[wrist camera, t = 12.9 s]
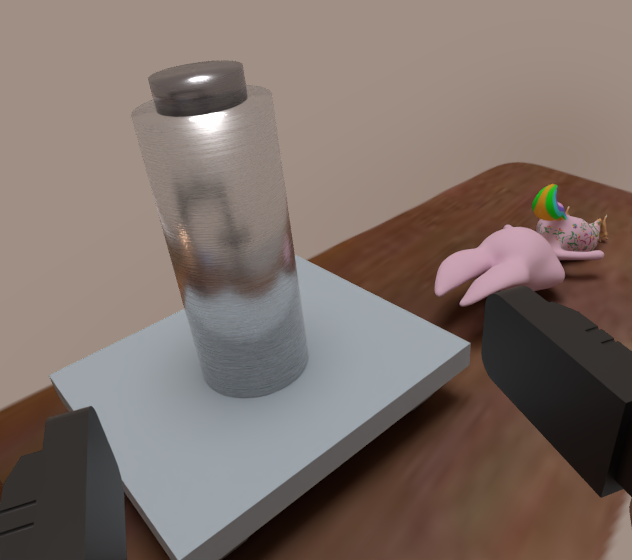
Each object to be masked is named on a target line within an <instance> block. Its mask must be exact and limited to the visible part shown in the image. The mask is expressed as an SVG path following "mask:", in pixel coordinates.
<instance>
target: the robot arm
mask: <svg viewBox="0 0 632 560" xmlns="http://www.w3.org/2000/svg"><path fill="white" fill-rule="evenodd" d="M482 360H483V364H484V367H485V369H486V371H487V373H488V375H489V377H490V378H491V379H492V381H493V382H494V383H495V384H496V385H497V386H498V387H499V388H500V389H501V390H502V392H503V393H504V394H505V395H506V396H507V397H508V398H509V399H510V400H511V401H512V402H513V403H514V404H515V406H516V407H517V408H518V409H519V410H520V411H521V412H522V413H523V414H524V415H525V416H526V417H527V419H528V420H529V421H530V422H531V423H532V424H533V425H534V426H535V427H536V428H537V429H538V430H539V432H540V433H541V434H542V435H543V436H544V437H545V438H546V439H547V440H548V441H549V442H550V443H551V444H552V446H553V447H554V448H555V449H556V450H557V451H558V452H559V453H560V454H561V455H562V456H563V457H564V459H565V460H566V461H567V462H568V463H569V464H570V465H571V466H572V467H573V468H574V469H575V470H576V471H577V473H578V474H579V475H580V476H581V477H582V478H583V479H584V480H585V481H586V482H587V483H588V484H589V486H590V487H591V488H592V489H593V490H594V491H595V492H596V493H597V494H598V495H599V496H600V497H601V498H602V497H604V496H607V495H609V494H612V493H614V492H617V491H619V490H622V489H624V490H625V491H626V492H627V493H628V494H629V495H630V496H631V497H632V351H630V350H629V349H628V348H626V347H625V346H624V345H622V344H621V343H620V342H618V341H617V342H615V341H614V338H613V337H612V336H610V335H609V334H608V333H606V332H605V331H604V330H602V329H600V330H599V329H598V326H597V325H595V324H594V323H593V322H591V321H590V320H589V319H587V318H586V317H585V316H583V315H582V314H581V313H579V312H578V311H575V310H573V309H570V308H568V307H565V306H563V305H560V304H558V303H555V302H553V301H552V302H547V301H546V300H545V299H543V298H542V297H541V296H540V295H538V294H537V293H536V292H534V291H533V290H532V289H530V288H529V287H527V286H523V285H522V286H518V287H514V288H511V289H507V290H503V291H500V292H496V293H493V294H490V295H489V296H488V297H487V299H486V302H485V312H484V325H483V338H482ZM629 508H630V518H631V525H632V499H631V502H630V506H629ZM0 560H127V550H126V527H125V504H124V490H123V484H122V479H121V475H120V471H119V467H118V464H117V462H116V459H115V457H114V454H113V452H112V449H111V447H110V444H109V442H108V440H107V437H106V435H105V432H104V430H103V427H102V425H101V423H100V420H99V418H98V415H97V413H96V411H95V409H94V408H93V407H92V406H88V407H85V408H81V409H78V410H74V411H71V412H67V413H64V414H60V415H57V416H53V417H49V418H48V419H47V421H46V425H45V432H44V441H43V449H42V450H41V451H38V452H34V453H31V454H27V455H24V456H21V457H20V459H19V461H18V462H17V464H16V465H15V467H14V468H13V470H12V472H11V473H10V475H9V476H8V478H7V480H6V481H5V483H4V485H3V491H2V496H1V502H0Z"/></svg>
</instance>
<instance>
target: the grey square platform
mask: <svg viewBox="0 0 632 560" xmlns="http://www.w3.org/2000/svg"><path fill="white" fill-rule="evenodd" d="M295 261H296V268H297V275H298V282H299V289H300V296H301V303H302V311H303V318H304V325H305V332H306V339H307V346H308V353H309V358H308V363H307V366H306V368H305V370H304V371H303V373H302V374H301V375H300V376H299V378H298V379H297V380H295V381H294V382H293V383H292V384H290V385H289V386H287V387H286V388H284V389H282V390H280V391H278V392H275V393H273V394H270V395H267V396H262V397H257V398H245V399H243V398H233V397H228V396H224V395H222V394H219V393H217V392H216V391H214V390H213V389H211V388H210V387H209V386H208V385H207V383H206V382H205V380H204V377H203V374H202V370H201V366H200V363H199V359H198V355H197V352H196V348H195V345H194V341H193V337H192V334H191V330H190V327H189V323H188V319H187V316H186V312H185V309H183V310H181V311H179V312H177V313H175V314H173V315H171V316H169V317H167V318H165V319H163V320H161V321H159V322H157V323H155V324H153V325H151V326H149V327H146V328H144V329H143V330H140V331H138V332H136V333H134V334H132V335H130V336H128V337H126V338H124V339H122V340H120V341H118V342H116V343H114V344H112V345H110V346H108V347H106V348H104V349H102V350H100V351H98V352H95V353H94V354H91V355H89V356H87V357H85V358H83V359H81V360H79V361H78V362H75V363H73V364H71V365H69V366H67V367H65V368H63V369H61V370H59V371H57V372H55V373H53V374H51V375H49V377H50V379H51V381H52V383H53V386H54V388H55V390H56V392H57V394H58V396H59V398H60V399H61V401H62V402H63V403H64V405H65V406H66V408H67V409H68V411H69V412H71V411H74V410H78V409H81V408H85V407H88V406H92V407H93V408H94V409H95V411H96V413H97V415H98V418H99V420H100V423H101V425H102V427H103V430H104V432H105V435H106V437H107V440H108V442H109V444H110V447H111V449H112V452H113V454H114V457H115V459H116V462H117V464H118V467H119V471H120V475H121V479H122V484H123V490H124V492H125V494H126V495H127V497H128V498H129V500H130V501H131V502H132V504H133V505H134V507H135V508H136V510H137V511H138V513H139V514H140V516H141V517H142V518H143V520H144V521H145V523H146V524H147V526H148V527H149V529H150V530H151V532H152V533H153V534H154V536H155V537H156V539H157V540H158V542H159V543H160V545H161V546H162V548H163V549H164V551H165V552H166V553H167V555H168V556H169V558H170V559H171V560H223V559H224V558H225V557H226V556H228V555H229V554H230V553H231V552H233V551H234V550H235V549H237V548H238V547H239V546H240V545H242V544H243V543H244V542H246V541H247V540H248V537H249V536H250V535H251V534H253V533H254V532H255V531H257V530H258V529H259V528H260V527H262V526H263V525H264V524H266V523H267V522H268V521H269V520H271V519H272V518H273V517H275V516H276V515H277V514H278V513H280V512H281V511H282V510H284V509H285V508H286V507H287V506H289V505H290V504H291V503H293V502H294V501H295V500H296V499H298V498H299V497H300V496H302V495H303V494H304V493H305V492H307V491H308V490H309V489H311V488H312V487H313V486H314V485H316V484H317V483H318V482H320V481H321V480H322V479H323V478H325V477H326V476H327V475H329V474H330V473H331V472H332V471H334V470H335V469H336V468H338V467H339V466H340V465H341V464H343V463H344V462H345V461H347V460H348V459H349V458H350V457H352V456H353V455H354V454H356V453H357V452H358V451H359V450H361V449H362V448H363V447H365V446H366V445H367V444H368V443H370V442H371V441H372V440H374V439H375V438H376V437H377V436H379V435H380V434H381V433H383V432H384V431H385V430H386V429H388V428H389V427H390V426H392V425H393V424H394V423H395V422H397V421H398V420H399V419H401V418H402V417H403V416H404V415H406V414H407V413H408V412H412V411H413V410H415V409H416V408H417V407H418V406H420V405H421V404H422V403H424V402H425V401H426V400H427V399H429V398H430V397H431V396H432V395H433V393H434V392H435V391H437V390H438V389H439V388H440V387H442V386H443V385H444V384H446V383H447V382H448V381H449V380H451V379H452V378H453V377H455V376H456V375H457V374H458V373H460V372H461V371H462V370H464V369H465V368H466V367H467V366H469V363H470V345H471V343H469V342H467V341H465V340H463V339H461V338H459V337H457V336H455V335H453V334H451V333H450V332H448V331H446V330H444V329H442V328H440V327H438V326H436V325H434V324H432V323H430V322H428V321H426V320H424V319H422V318H420V317H418V316H416V315H414V314H412V313H410V312H408V311H406V310H404V309H402V308H400V307H398V306H396V305H394V304H392V303H390V302H388V301H386V300H384V299H382V298H380V297H378V296H376V295H374V294H372V293H370V292H368V291H366V290H364V289H362V288H360V287H358V286H356V285H354V284H352V283H350V282H348V281H346V280H344V279H342V278H340V277H338V276H336V275H334V274H332V273H330V272H328V271H326V270H325V269H323V268H321V267H319V266H317V265H315V264H313V263H311V262H309V261H307V260H305V259H303V258H301V257H299V256H297V255H295Z"/></svg>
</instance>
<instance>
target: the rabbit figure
mask: <svg viewBox="0 0 632 560" xmlns="http://www.w3.org/2000/svg"><path fill="white" fill-rule="evenodd" d="M556 192H557V185H555V184H551V185H549V186H546V187H544V188H543V189H542V190H541V191H540V192H539V193H538V194H537V196H536V197H535V199H534V201H533V204H532V209H533V212H534V214H535V215H536V216H537V217H538V218H540V220H539V222H538V224H537V229H536V232H535V231H533V230H531V229H528V228H523V227H512V226H511V225H505V226H504V229H502V230H500V231H497V232H495V233H493V234H492V235H490V236H489V237H487V238H486V239H485V240H484V241H483V242H482V243H481V245H480V246H479V247H478V248H476V249H468V250H463V251H459V252H456V253H454V254H452V255H451V256H449V257H448V258H447V259H445V260H444V261H443V262H442V264H441V265H440V267H439V270H438V272H437V276H436V281H435V294H436V296H438V297H441V296H443V295H444V294H446V293H447V292H449V291H451V290H452V289H454V288H456V287H458V286H460V285H461V284H463V283H465V282H466V281H468V280H471V279H473V278H475V277H478V276H480V275H481V276H480V277H478V278H477V279H476V280H475V281H474V282H473V283H472V285H471V286H470V288H469V289H468V291H467V292H466V294H465V296H464V297H463V298H462V300H461V301H460V303H459V305H460V306H462V307H464V306H469V305H472V304H474V303H476V302H478V301H480V300H481V299H483V298H485V297H487V296H489V295H490V294H493V293H495V292H497V291H499V290H500V291H503V290H507V289H511V288H514V287H518V286H522V285H523V286H527V287H529V288H530V289H532V290H533V291H537V290H542V289H548V288H551V287H554V286H556V285H558V284H560V283H561V282H562V281H563V280H564V278H565V272H564V269H563V267H562V265H561V263H560V261H559V260H599V259H602V258H603V257H604V253H603V252H602V251H600V250H595V251H593V250H594V249H595V247H596V246H597V243H598V240H599V242H601V238H602V237H603V236H605V239H606V240H608V239H607V232H606V222H605V220H606V218H607V215H606V216H605V218H604V220H603V222H602V220H601V219H597V220H596V221H595V222H594V223H592V224H588V223H587V222H586V221H584V220H582V219H580V218H576V217H572V216H569V214H568V210H569V207H568V208H567V211H566V212H565V211H564V207H563V206H562V204H561V203H558V202H557V199H556ZM599 237H600V238H599Z"/></svg>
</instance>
